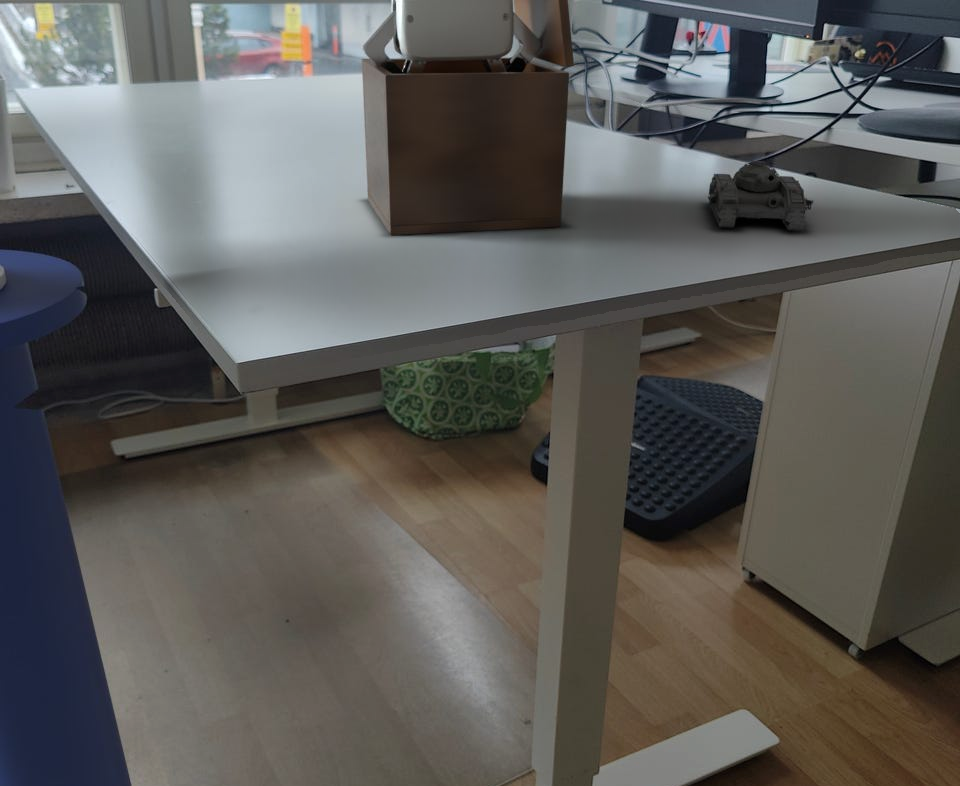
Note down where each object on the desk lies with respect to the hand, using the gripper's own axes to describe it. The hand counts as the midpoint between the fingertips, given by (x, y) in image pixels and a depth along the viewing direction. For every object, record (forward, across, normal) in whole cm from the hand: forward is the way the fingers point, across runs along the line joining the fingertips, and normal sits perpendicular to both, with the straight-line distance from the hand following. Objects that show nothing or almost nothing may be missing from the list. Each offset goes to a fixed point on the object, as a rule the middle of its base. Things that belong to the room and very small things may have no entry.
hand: (454, 137), depth 87 cm
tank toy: (+8, -27, +7) cm, 29 cm away
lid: (-14, -7, 0) cm, 16 cm away
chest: (+7, 0, 0) cm, 7 cm away
